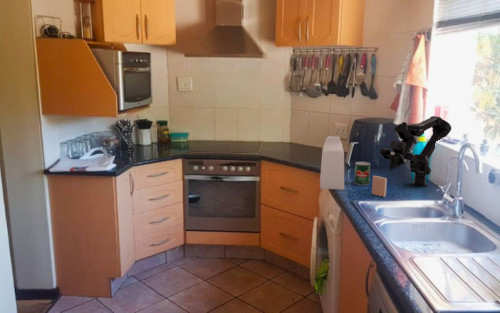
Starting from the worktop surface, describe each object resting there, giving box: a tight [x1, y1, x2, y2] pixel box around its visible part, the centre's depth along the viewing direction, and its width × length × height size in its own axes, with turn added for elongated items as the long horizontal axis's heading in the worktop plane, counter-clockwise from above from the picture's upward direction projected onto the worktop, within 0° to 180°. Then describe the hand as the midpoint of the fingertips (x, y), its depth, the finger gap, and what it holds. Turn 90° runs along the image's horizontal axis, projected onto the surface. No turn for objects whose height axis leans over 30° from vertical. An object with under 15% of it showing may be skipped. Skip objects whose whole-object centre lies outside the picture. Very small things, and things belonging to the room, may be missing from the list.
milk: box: [319, 136, 345, 190], centre depth 229 cm, size 12×12×26 cm
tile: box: [371, 175, 388, 198], centre depth 215 cm, size 2×7×9 cm, turn 36°
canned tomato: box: [353, 161, 371, 186], centre depth 236 cm, size 8×8×11 cm
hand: (390, 169), depth 218 cm, fingers closed
